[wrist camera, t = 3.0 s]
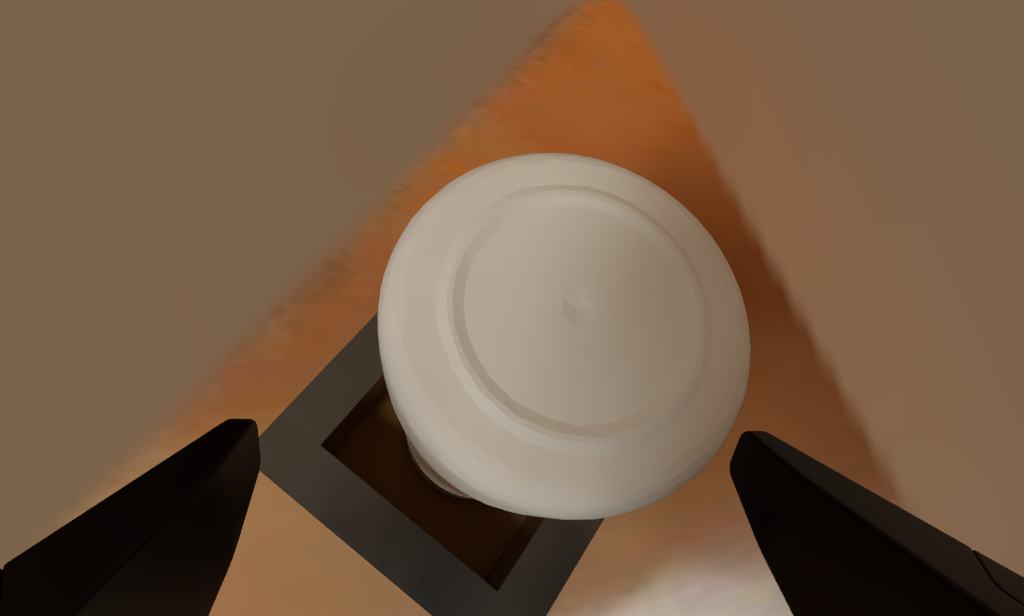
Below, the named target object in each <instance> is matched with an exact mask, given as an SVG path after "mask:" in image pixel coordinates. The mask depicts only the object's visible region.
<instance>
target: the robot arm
mask: <svg viewBox="0 0 1024 616" xmlns="http://www.w3.org/2000/svg"><path fill="white" fill-rule="evenodd" d="M260 463H261V455H260V446H259V437H258V428H257V424H256V422H255V421H254V420H253V419H228V420H226V421H224V422H223V423H221V424H220V425H218V426H216V427H215V428H213V429H212V430H210V431H209V432H207V433H206V434H204V435H203V436H201V437H200V438H198V439H196V440H195V441H193V442H192V443H190V444H189V445H187V446H186V447H184V448H183V449H181V450H180V451H178V452H176V453H175V454H173V455H172V456H170V457H169V458H167V459H166V460H164V461H163V462H161V463H160V464H158V465H157V466H155V467H153V468H152V469H150V470H149V471H147V472H146V473H144V474H143V475H141V476H140V477H138V478H137V479H135V480H133V481H132V482H130V483H129V484H127V485H126V486H124V487H123V488H121V489H120V490H118V491H117V492H115V493H114V494H112V495H110V496H109V497H107V498H106V499H104V500H103V501H101V502H100V503H98V504H97V505H95V506H94V507H92V508H90V509H89V510H87V511H86V512H84V513H83V514H81V515H80V516H78V517H77V518H75V519H74V520H72V521H70V522H69V523H67V524H66V525H64V526H63V527H61V528H60V529H58V530H57V531H55V532H54V533H52V534H51V535H49V536H47V537H46V538H44V539H43V540H41V541H40V542H38V543H37V544H35V545H34V546H32V547H31V548H29V549H27V550H26V551H24V552H23V553H21V554H20V555H18V556H17V557H15V558H14V559H12V560H11V561H9V562H7V563H6V564H5V565H4V567H3V570H2V569H0V616H208V615H209V613H210V611H211V608H212V606H213V604H214V601H215V599H216V597H217V594H218V592H219V590H220V587H221V585H222V583H223V580H224V578H225V576H226V573H227V571H228V568H229V566H230V563H231V561H232V558H233V556H234V553H235V549H236V546H237V543H238V540H239V537H240V533H241V530H242V527H243V523H244V520H245V517H246V513H247V510H248V507H249V503H250V500H251V497H252V493H253V490H254V487H255V483H256V480H257V477H258V473H259V469H260ZM730 474H731V478H732V480H733V483H734V485H735V488H736V490H737V493H738V495H739V498H740V500H741V503H742V505H743V508H744V511H745V513H746V516H747V518H748V521H749V523H750V526H751V528H752V531H753V533H754V536H755V538H756V541H757V543H758V545H759V548H760V550H761V552H762V554H763V556H764V558H765V560H766V562H767V564H768V566H769V568H770V570H771V572H772V574H773V576H774V578H775V580H776V582H777V584H778V586H779V588H780V590H781V592H782V594H783V596H784V598H785V600H786V602H787V604H788V606H789V608H790V610H791V612H792V614H793V616H1024V577H1022V576H1020V575H1018V574H1017V573H1015V572H1013V571H1011V570H1009V569H1008V568H1006V567H1004V566H1002V565H1000V564H998V563H997V562H995V561H993V560H992V559H990V558H988V557H986V556H984V555H983V554H981V553H979V552H977V551H975V550H973V551H972V550H971V548H970V547H968V546H967V545H965V544H963V543H961V542H960V541H958V540H956V539H954V538H953V537H951V536H949V535H947V534H946V533H944V532H942V531H940V530H938V529H937V528H935V527H933V526H931V525H930V524H928V523H926V522H924V521H923V520H921V519H919V518H917V517H916V516H914V515H912V514H910V513H908V512H907V511H905V510H903V509H901V508H900V507H898V506H896V505H894V504H893V503H891V502H889V501H887V500H886V499H884V498H882V497H880V496H879V495H877V494H875V493H873V492H871V491H870V490H868V489H866V488H864V487H863V486H861V485H859V484H857V483H856V482H854V481H852V480H850V479H849V478H847V477H845V476H843V475H841V474H840V473H838V472H836V471H834V470H833V469H831V468H829V467H827V466H826V465H824V464H822V463H820V462H819V461H817V460H815V459H813V458H812V457H810V456H808V455H806V454H804V453H803V452H801V451H799V450H797V449H796V448H794V447H792V446H790V445H789V444H787V443H785V442H783V441H782V440H780V439H778V438H776V437H774V436H773V435H771V434H769V433H767V432H764V431H746V432H744V433H743V434H742V435H741V436H740V439H739V441H738V444H737V446H736V449H735V451H734V454H733V457H732V459H731V462H730Z"/></svg>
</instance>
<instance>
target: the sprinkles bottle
mask: <svg viewBox="0 0 1024 616" xmlns="http://www.w3.org/2000/svg"><path fill="white" fill-rule="evenodd" d="M378 340H379V349H380V357H381V362H382V367H383V373H384V378H385V382H386V386H387V389H388V393H389V396H390V399H391V402H392V405H393V408H394V410H395V413H396V416H397V418H398V419H399V421H400V423H401V425H402V427H403V429H404V431H405V433H406V436H407V445H408V449H409V454H410V456H411V459H412V462H413V463H414V465H415V467H416V468H417V470H418V472H419V474H420V475H421V477H422V478H423V479H424V480H425V481H427V482H428V483H429V484H431V485H432V486H433V487H434V488H435V489H436V490H438V491H440V492H441V493H443V494H446V495H448V496H451V497H455V498H460V499H476V500H478V501H481V502H483V503H485V504H487V505H490V506H493V507H496V508H499V509H503V510H506V511H509V512H513V513H518V514H523V515H530V516H537V517H545V518H553V519H562V520H586V519H600V518H605V517H611V516H617V515H621V514H625V513H629V512H632V511H636V510H640V509H642V508H645V507H647V506H649V505H651V504H653V503H655V502H658V501H660V500H662V499H664V498H666V497H668V496H669V495H671V494H672V493H674V492H675V491H676V490H678V489H679V488H681V487H682V486H684V485H685V484H686V483H688V482H689V481H691V480H692V479H693V478H695V477H696V476H697V475H698V474H699V473H700V472H701V471H702V470H703V469H704V468H705V467H706V466H707V464H708V463H709V462H710V461H711V460H712V458H713V457H714V456H715V455H716V454H717V452H718V451H719V449H720V448H721V446H722V445H723V443H724V441H725V440H726V438H727V436H728V435H729V433H730V431H731V429H732V428H733V425H734V423H735V421H736V418H737V416H738V414H739V411H740V409H741V406H742V403H743V399H744V396H745V392H746V388H747V382H748V376H749V370H750V350H751V345H750V334H749V325H748V320H747V314H746V309H745V306H744V302H743V298H742V295H741V291H740V289H739V286H738V284H737V282H736V279H735V277H734V274H733V272H732V269H731V267H730V266H729V264H728V262H727V260H726V258H725V257H724V255H723V253H722V251H721V250H720V248H719V247H718V245H717V244H716V242H715V241H714V239H713V238H712V236H711V235H710V234H709V233H708V231H707V230H706V229H705V228H704V227H703V225H702V224H701V223H700V222H699V221H698V219H697V218H696V217H695V216H694V215H693V214H692V213H691V212H690V211H689V210H687V209H686V208H685V207H684V206H683V205H682V204H681V203H680V202H679V201H677V200H676V199H675V198H674V197H672V196H671V195H670V194H669V193H667V192H666V191H664V190H663V189H661V188H660V187H658V186H657V185H655V184H654V183H652V182H650V181H649V180H647V179H645V178H644V177H642V176H640V175H638V174H635V173H633V172H631V171H629V170H627V169H625V168H622V167H620V166H617V165H615V164H612V163H609V162H606V161H603V160H600V159H596V158H591V157H586V156H581V155H575V154H563V153H533V154H525V155H518V156H512V157H508V158H504V159H500V160H497V161H494V162H491V163H488V164H485V165H482V166H480V167H477V168H475V169H473V170H471V171H469V172H468V173H466V174H464V175H462V176H460V177H458V178H456V179H455V180H454V181H452V182H451V183H449V184H447V185H446V186H444V187H443V188H442V189H441V190H440V191H439V192H438V193H437V194H435V195H434V196H433V197H432V198H431V199H430V200H429V201H428V202H426V203H425V204H424V205H423V206H422V208H421V209H420V210H419V211H418V212H417V213H416V214H415V215H414V217H413V218H412V219H411V221H410V222H409V224H408V225H407V227H406V228H405V230H404V232H403V233H402V235H401V237H400V239H399V240H398V242H397V244H396V246H395V248H394V250H393V252H392V254H391V257H390V260H389V263H388V266H387V268H386V271H385V273H384V277H383V281H382V285H381V290H380V298H379V306H378Z"/></svg>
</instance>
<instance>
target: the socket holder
mask: <svg viewBox="0 0 1024 616" xmlns="http://www.w3.org/2000/svg"><path fill="white" fill-rule="evenodd" d="M387 390H388V389H387V386H386V382H385V378H384V373H383V367H382V362H381V357H380V349H379V340H378V313H377V314H376V315H375V316H374V317H373V318H372V319H371V320H370V321H369V322H368V323H367V324H366V325H365V326H364V327H363V328H362V329H361V330H360V331H359V333H358V334H357V335H356V336H355V337H354V338H353V339H352V340H351V341H350V342H349V343H348V344H347V345H346V346H345V347H344V348H343V349H342V350H341V351H340V352H339V354H338V355H337V356H336V357H335V358H334V359H333V360H332V361H331V362H330V363H329V364H328V365H327V366H326V367H325V368H324V369H323V370H322V371H321V372H320V373H319V375H318V376H317V377H316V378H315V379H314V380H313V381H312V382H311V383H310V384H309V385H308V386H307V387H306V388H305V389H304V390H303V391H302V392H301V393H300V394H299V396H298V397H297V398H296V399H295V400H294V401H293V402H292V403H291V404H290V405H289V406H288V407H287V408H286V409H285V410H284V411H283V412H282V413H281V414H280V415H279V417H278V418H277V419H276V420H275V421H274V422H273V423H272V424H271V425H270V426H269V427H268V428H267V429H266V430H265V431H264V432H263V433H262V434H261V435H260V436H259V446H260V455H261V463H260V469H259V470H260V471H261V472H262V473H263V474H264V475H266V476H267V477H268V478H269V479H270V480H272V481H273V482H274V483H275V484H276V485H278V486H279V487H280V488H281V489H282V490H283V491H285V492H286V493H287V494H288V495H289V496H291V497H292V498H293V499H294V500H295V501H297V502H298V503H299V504H300V505H301V506H302V507H304V508H305V509H306V510H307V511H308V512H310V513H311V514H312V515H313V516H314V517H316V518H317V519H318V520H319V521H320V522H321V523H323V524H324V525H325V526H326V527H327V528H329V529H330V530H331V531H332V532H333V533H335V534H336V535H337V536H338V537H339V538H341V539H342V540H343V541H344V542H345V543H346V544H348V545H349V546H350V547H351V548H352V549H354V550H355V551H356V552H357V553H358V554H360V555H361V556H362V557H363V558H364V559H365V560H367V561H368V562H369V563H370V564H371V565H373V566H374V567H375V568H376V569H377V570H379V571H380V572H381V573H382V574H383V575H385V576H386V577H387V578H388V579H389V580H390V581H392V582H393V583H394V584H395V585H396V586H398V587H399V588H400V589H401V590H402V591H404V592H405V593H406V594H407V595H408V596H409V597H411V598H412V599H413V600H414V601H415V602H417V603H418V604H419V605H420V606H421V607H423V608H424V609H425V610H426V611H427V612H428V613H430V614H431V615H432V616H546V615H547V613H548V612H549V610H550V608H551V607H552V605H553V603H554V602H555V600H556V598H557V597H558V595H559V593H560V592H561V590H562V588H563V587H564V585H565V583H566V582H567V580H568V578H569V576H570V575H571V573H572V571H573V570H574V568H575V566H576V565H577V563H578V561H579V560H580V558H581V556H582V555H583V553H584V551H585V550H586V548H587V546H588V545H589V543H590V541H591V540H592V538H593V536H594V535H595V533H596V531H597V530H598V528H599V526H600V525H601V523H602V521H603V520H604V518H600V519H586V520H562V519H553V518H545V517H537V516H530V515H528V516H527V518H526V519H525V521H524V522H523V524H522V525H521V527H520V528H519V530H518V531H517V533H516V534H515V536H514V538H513V539H512V541H511V542H510V544H509V545H508V547H507V548H506V550H505V551H504V553H503V554H502V556H501V557H500V559H499V560H498V562H497V563H496V565H495V566H494V568H493V569H492V571H491V572H490V574H489V575H488V577H487V578H486V577H485V576H483V575H482V574H481V573H480V572H479V571H477V570H476V569H475V568H474V567H472V566H471V565H470V564H469V563H468V562H466V561H465V560H464V559H463V558H462V557H460V556H459V555H458V554H457V553H456V552H454V551H453V550H452V549H451V548H449V547H448V546H447V545H446V544H445V543H443V542H442V541H441V540H440V539H439V538H437V537H436V536H435V535H434V534H433V533H431V532H430V531H429V530H428V529H426V528H425V527H424V526H423V525H422V524H420V523H419V522H418V521H417V520H416V519H414V518H413V517H412V516H411V515H409V514H408V513H407V512H406V511H405V510H403V509H402V508H401V507H400V506H399V505H397V504H396V503H395V502H394V501H393V500H391V499H390V498H389V497H388V496H386V495H385V494H384V493H383V492H382V491H380V490H379V489H378V488H377V487H376V486H374V485H373V484H372V483H371V482H369V481H368V480H367V479H366V478H365V477H363V476H362V475H361V474H360V473H359V472H357V471H356V470H355V469H354V468H353V467H351V466H350V465H349V464H348V463H346V462H345V461H344V460H343V459H342V458H340V457H339V456H338V455H337V454H336V453H334V451H335V449H336V448H337V447H338V446H339V445H340V444H341V443H342V441H343V440H344V439H345V438H346V437H347V436H348V435H349V433H350V432H351V431H352V430H353V429H354V428H355V427H356V425H357V424H358V423H359V422H360V421H361V420H362V418H363V417H364V416H365V415H366V414H367V413H368V412H369V410H370V409H371V408H372V407H373V406H374V405H375V404H376V402H377V401H378V400H379V399H380V398H381V397H382V396H383V394H384V393H385V392H386V391H387Z"/></svg>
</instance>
